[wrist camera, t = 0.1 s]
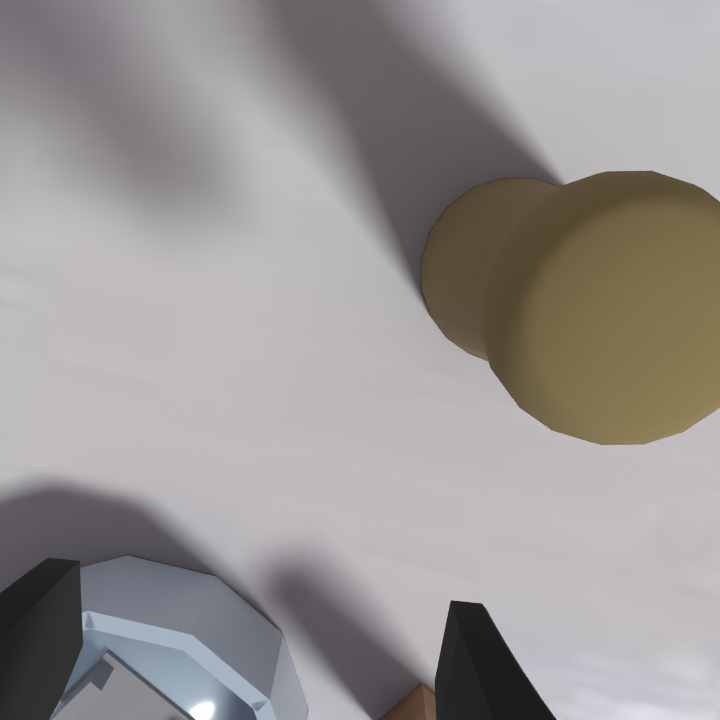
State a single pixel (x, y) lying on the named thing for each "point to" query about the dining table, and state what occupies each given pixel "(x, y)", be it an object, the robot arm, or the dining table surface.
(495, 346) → the cork
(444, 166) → the dining table surface
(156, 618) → the pale blue round tray
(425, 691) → the long wooden beam
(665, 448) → the dining table surface
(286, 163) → the dining table surface
